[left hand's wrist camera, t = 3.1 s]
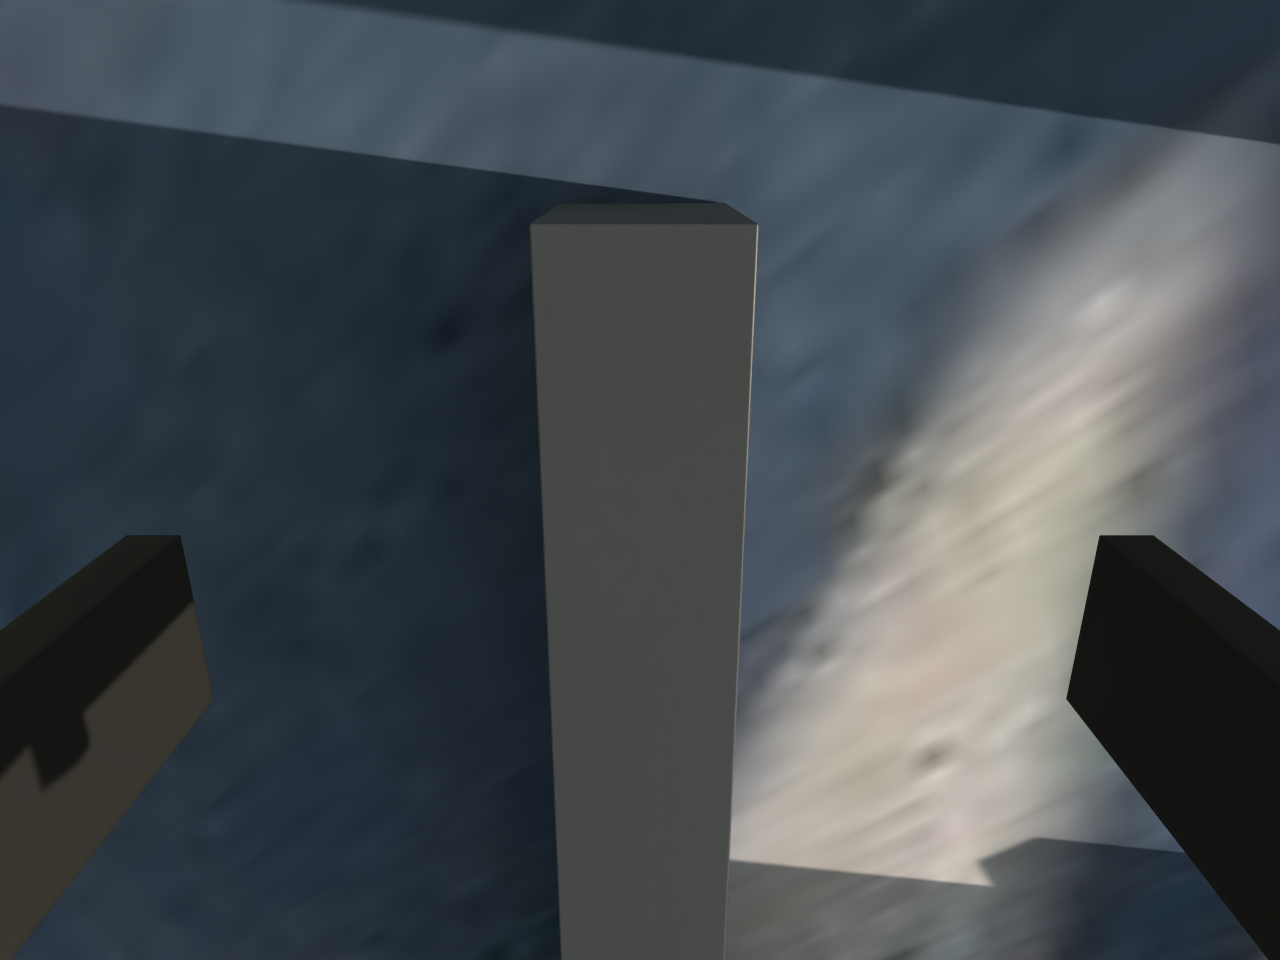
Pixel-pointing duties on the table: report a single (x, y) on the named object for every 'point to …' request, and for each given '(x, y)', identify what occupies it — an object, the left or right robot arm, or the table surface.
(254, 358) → the table surface
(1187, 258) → the table surface
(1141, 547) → the left robot arm
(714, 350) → the post
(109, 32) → the table surface
